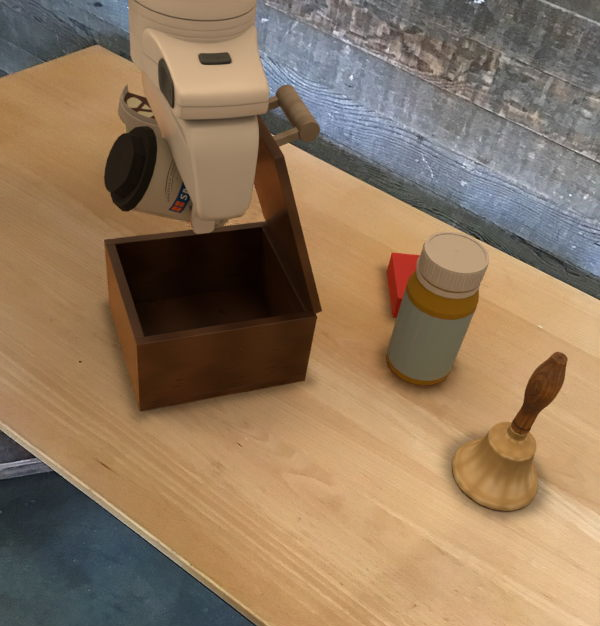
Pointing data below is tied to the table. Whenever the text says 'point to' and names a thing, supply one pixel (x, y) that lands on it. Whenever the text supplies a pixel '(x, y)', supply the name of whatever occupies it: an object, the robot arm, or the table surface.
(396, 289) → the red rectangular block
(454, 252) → the bottle
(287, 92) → the lid
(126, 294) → the chest
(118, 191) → the coffee cup
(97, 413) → the table surface
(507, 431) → the hand bell
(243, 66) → the robot arm
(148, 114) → the food container
